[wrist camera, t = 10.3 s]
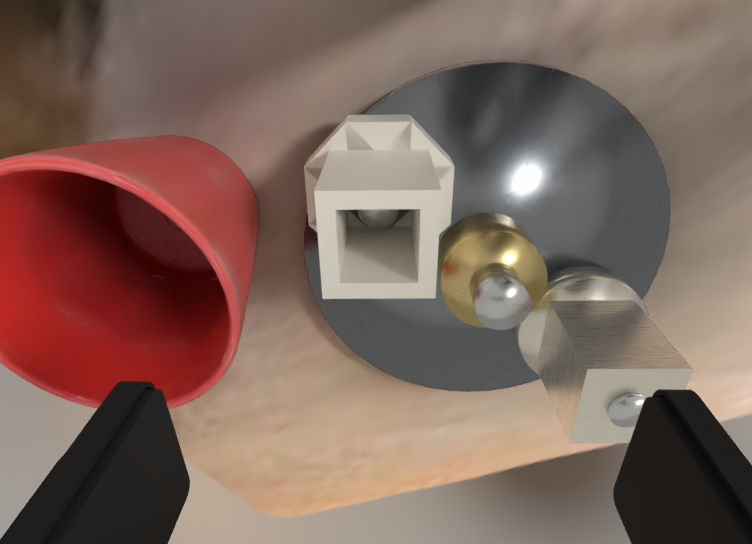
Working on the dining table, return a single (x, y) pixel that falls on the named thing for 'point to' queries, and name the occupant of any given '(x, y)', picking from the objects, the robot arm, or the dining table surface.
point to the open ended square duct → (379, 207)
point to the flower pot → (124, 266)
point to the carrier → (529, 250)
